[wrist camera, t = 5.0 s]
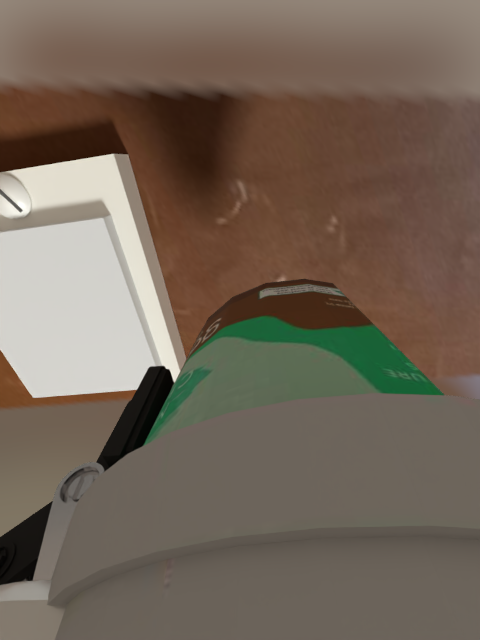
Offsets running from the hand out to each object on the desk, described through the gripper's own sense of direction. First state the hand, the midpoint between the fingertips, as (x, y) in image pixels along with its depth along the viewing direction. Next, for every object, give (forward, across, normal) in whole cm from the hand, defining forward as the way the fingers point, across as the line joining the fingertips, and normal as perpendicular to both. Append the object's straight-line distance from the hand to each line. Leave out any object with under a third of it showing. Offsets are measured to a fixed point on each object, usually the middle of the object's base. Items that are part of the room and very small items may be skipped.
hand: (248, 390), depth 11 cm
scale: (+14, +16, 0) cm, 21 cm away
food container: (+2, +1, 0) cm, 3 cm away
